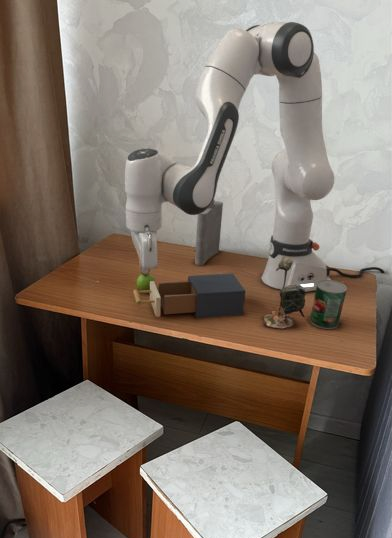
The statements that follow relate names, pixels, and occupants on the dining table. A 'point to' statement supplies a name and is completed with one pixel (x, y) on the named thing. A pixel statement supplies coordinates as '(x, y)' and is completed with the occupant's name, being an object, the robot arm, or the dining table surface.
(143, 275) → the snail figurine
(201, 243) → the hip flask
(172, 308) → the drawer
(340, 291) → the canned tomato
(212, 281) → the cabinet
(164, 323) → the dining table surface
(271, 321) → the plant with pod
